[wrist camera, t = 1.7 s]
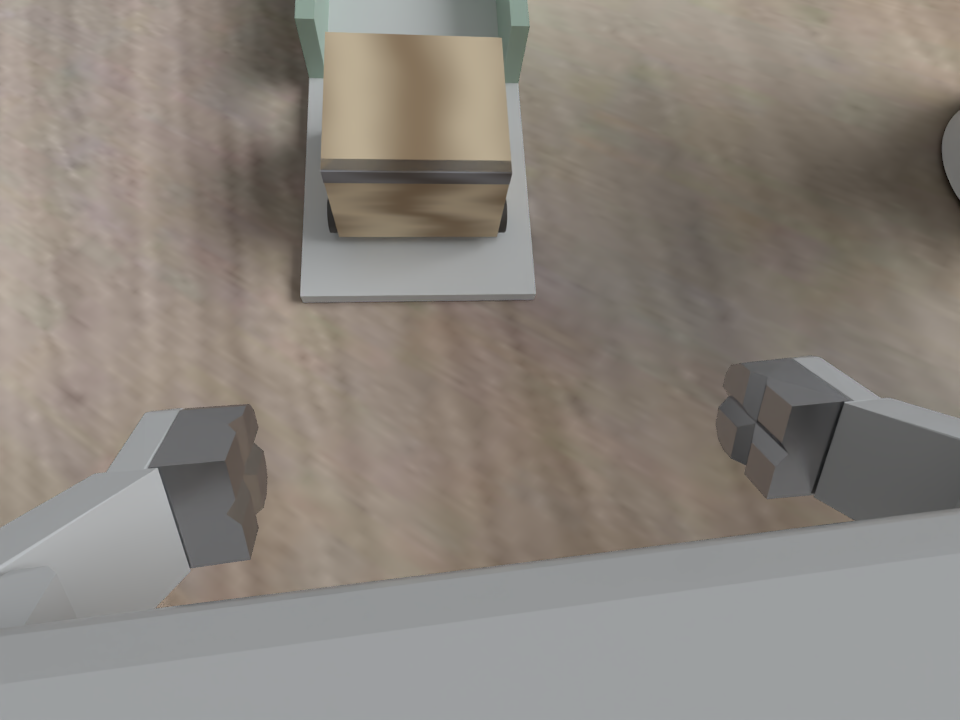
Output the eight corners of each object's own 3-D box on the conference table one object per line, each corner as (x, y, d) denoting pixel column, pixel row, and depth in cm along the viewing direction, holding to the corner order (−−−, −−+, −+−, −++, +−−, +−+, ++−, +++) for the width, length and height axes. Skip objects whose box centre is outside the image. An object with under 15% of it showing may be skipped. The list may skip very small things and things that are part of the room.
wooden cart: (496, 130, 42) (511, 37, 34) (504, 245, 39) (523, 173, 31) (334, 127, 41) (314, 31, 33) (331, 245, 38) (308, 171, 30)
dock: (505, -41, 48) (515, -119, 42) (533, 299, 39) (551, 258, 34) (317, -49, 47) (302, -132, 41) (303, 302, 38) (281, 259, 32)
